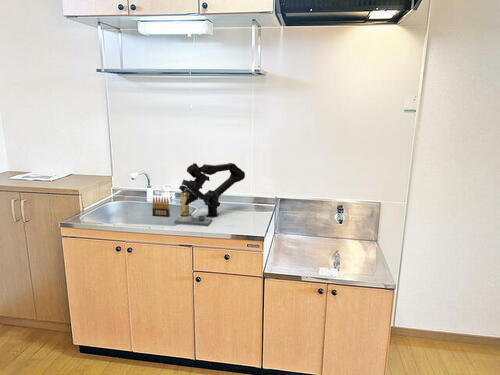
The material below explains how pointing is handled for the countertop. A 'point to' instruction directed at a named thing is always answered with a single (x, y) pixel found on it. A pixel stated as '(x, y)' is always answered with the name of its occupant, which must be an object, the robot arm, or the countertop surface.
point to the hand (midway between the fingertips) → (183, 204)
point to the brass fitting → (184, 207)
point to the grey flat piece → (193, 220)
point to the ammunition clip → (161, 208)
